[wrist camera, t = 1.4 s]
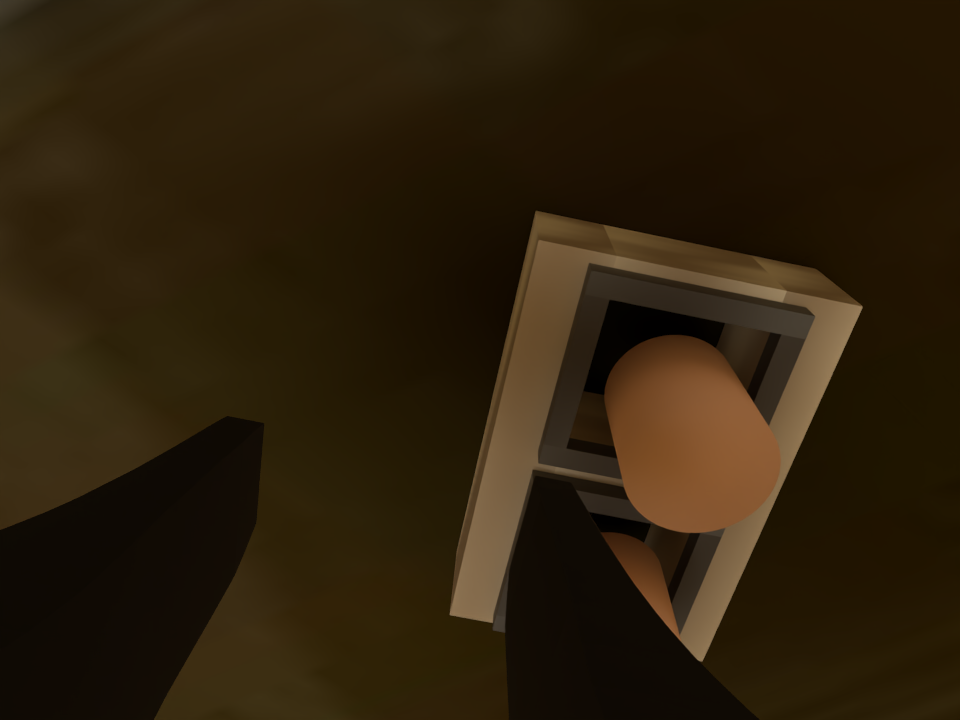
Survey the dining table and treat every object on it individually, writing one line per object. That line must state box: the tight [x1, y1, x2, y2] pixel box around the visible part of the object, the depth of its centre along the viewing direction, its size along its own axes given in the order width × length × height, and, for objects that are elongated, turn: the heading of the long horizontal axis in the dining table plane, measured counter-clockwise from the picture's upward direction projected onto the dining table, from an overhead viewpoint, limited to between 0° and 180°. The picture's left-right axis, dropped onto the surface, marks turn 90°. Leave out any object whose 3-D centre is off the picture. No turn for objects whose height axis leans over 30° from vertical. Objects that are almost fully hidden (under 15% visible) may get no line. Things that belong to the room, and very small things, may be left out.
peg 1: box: [601, 532, 681, 641], centre depth 19 cm, size 3×3×3 cm
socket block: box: [450, 211, 863, 661], centre depth 21 cm, size 8×12×4 cm, turn 169°
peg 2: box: [604, 335, 781, 533], centre depth 16 cm, size 3×3×3 cm
